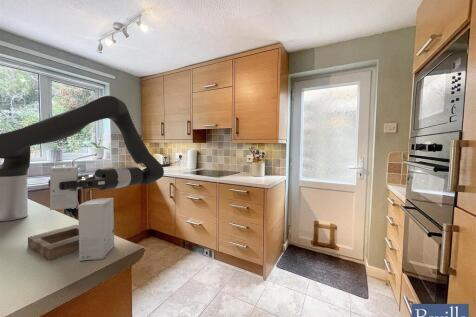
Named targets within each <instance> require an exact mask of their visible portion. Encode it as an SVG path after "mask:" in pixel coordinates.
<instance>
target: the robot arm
mask: <svg viewBox="0 0 476 317" xmlns="http://www.w3.org/2000/svg"><path fill="white" fill-rule="evenodd" d="M104 119H109V120H111V121H112V122H113V123H114V124H115V125H116V126H117V128H118V129H119V131H120V133H121V135H122V138H123V142H124V145H125V148H126V150H127V151H128V153H129V155H130V156H131V158H132V160H133V161H134V164H137V165H141V164H143V166H145V167H144V168H142V169H141V168H140V167H138V166H128V167H126V166H125V167H124V166H123V167H122V166H120V167H119V166H117V167H104V168H98V169H95V171H94V174H91V173H85V174H81V175H80V174H78V180H76V181H66V182H60V183H59V189H60V190H66V189H74V188H77V189H78V190H80V189H82V190H87V189H94V188H96V189H97V190H98V191H101V192H102V191H108V190H114V189H119V188H124V187H130V186H134V185H139V186H140V185H141V186H145V185H146V186H147V185H150V184H151V185H152V184H153V183H155V182H157V181H158V180H160V179H161V178H162V177H164V175H165V170H164V167H163V165H162V164H161V163H160V162H159V161H158V160H157V158H155V157H154V156H153V155H152V154H151V153H150V151H149V149H148V147H147V146H146V144H145V143H144V141H143V139H142V138H141V136H140V134H139V132H138V130H137V128H136V126H135V124H134V122H133V120H132V117H131V115H130V111H129V108H128V107H127V105H126V103H125V102H124V101H122V100H121V99H119V98H117V97H116V96H114V95H110V94H107V95H102V96H99V97H97V98H95V99H92V101H89V102H87V103H86V104H84V105H81V106H78V107H75V108H73V109H70V110H67V111H66V110H65V111H64V112H61V113H57V114H55V115H53V116H50V117H47V118H45V119H42V120H39V121H37V122H33V123H32V124H28V125H26V126H24V127H22V128H19V129H15V130H11V131H7V132H3V133H0V159H1V160H2V159H3V162H2V163H1V165H0V222H9V221H14V220H16V221H17V220H19V219H22V218H23V219H24V218H26V217H27V216H28V215H29V214H28V211H29V210H28V208H29V207H28V204H29V203H28V202H29V201H28V171H29V168H30V164H31V150H32V149H31V147H32V146H37V145H43V144H47V143H48V144H49V143H53V142H57V141H63V140H64V139H67V138H70V137H73V136H74V135H77V134H78V133H80V132H81V131H82V130H84V128H86V127H87V126H88V125H90V124H92V123H94V122H98V121H100V120H101V121H102V120H104ZM47 182H48V184H47V186H48V188H50V179H49V180H48V181H47Z"/></svg>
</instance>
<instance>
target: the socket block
mask: <svg viewBox="0 0 476 317" xmlns="http://www.w3.org/2000/svg"><path fill="white" fill-rule="evenodd" d="M27 249H30V250H32V251H33V252H35V253H36V254H38V255H40V256H41V257H43V258H45V259H46V260H48V261H52V260H56V259H58V258H62V257H64V256H65V255H69V254H72V253H74V252H79V224H74V225H73V224H72V225H69V226H65V227H62V228H58V229H54V230H50V231H46V232H42V233H38V234H34V235H31V236H28V237H27Z"/></svg>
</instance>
